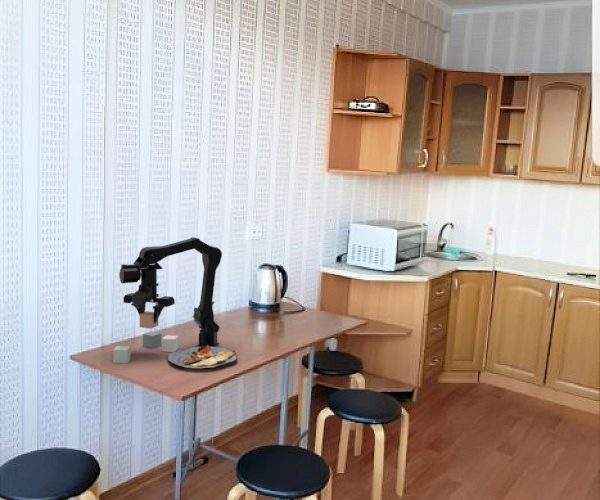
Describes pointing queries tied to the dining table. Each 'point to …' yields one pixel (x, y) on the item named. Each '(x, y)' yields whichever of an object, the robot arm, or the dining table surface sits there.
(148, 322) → the terracotta block
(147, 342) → the slate-grey block
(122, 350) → the sage-green block
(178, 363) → the food plate
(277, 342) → the dining table surface
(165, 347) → the off-white block
